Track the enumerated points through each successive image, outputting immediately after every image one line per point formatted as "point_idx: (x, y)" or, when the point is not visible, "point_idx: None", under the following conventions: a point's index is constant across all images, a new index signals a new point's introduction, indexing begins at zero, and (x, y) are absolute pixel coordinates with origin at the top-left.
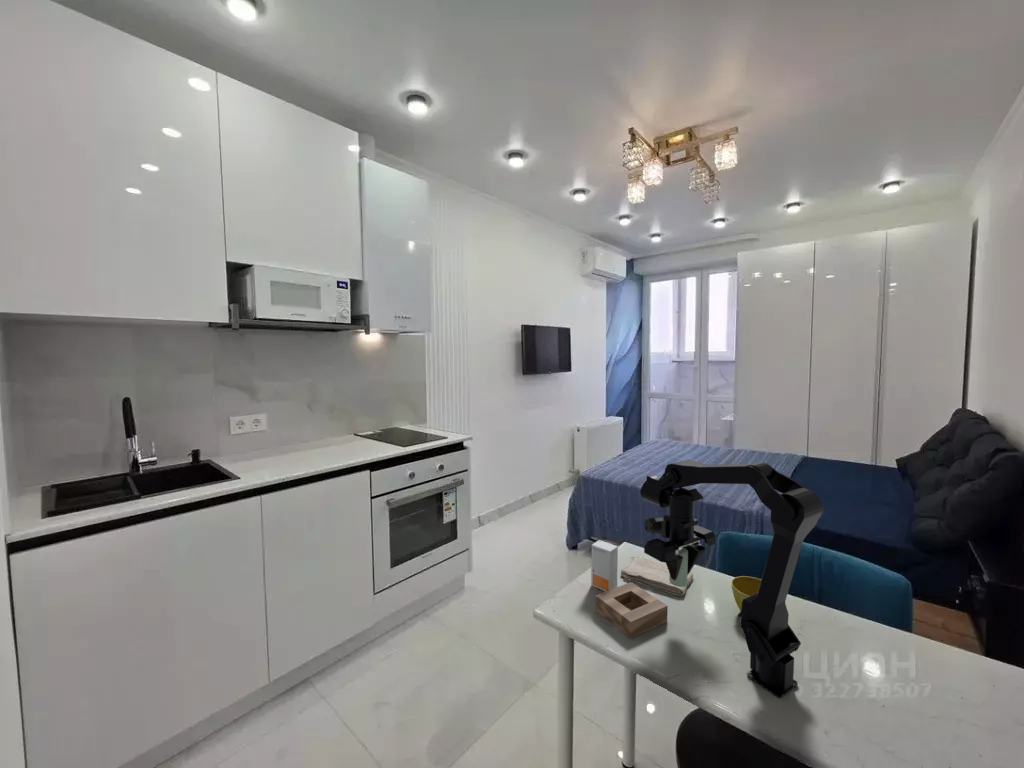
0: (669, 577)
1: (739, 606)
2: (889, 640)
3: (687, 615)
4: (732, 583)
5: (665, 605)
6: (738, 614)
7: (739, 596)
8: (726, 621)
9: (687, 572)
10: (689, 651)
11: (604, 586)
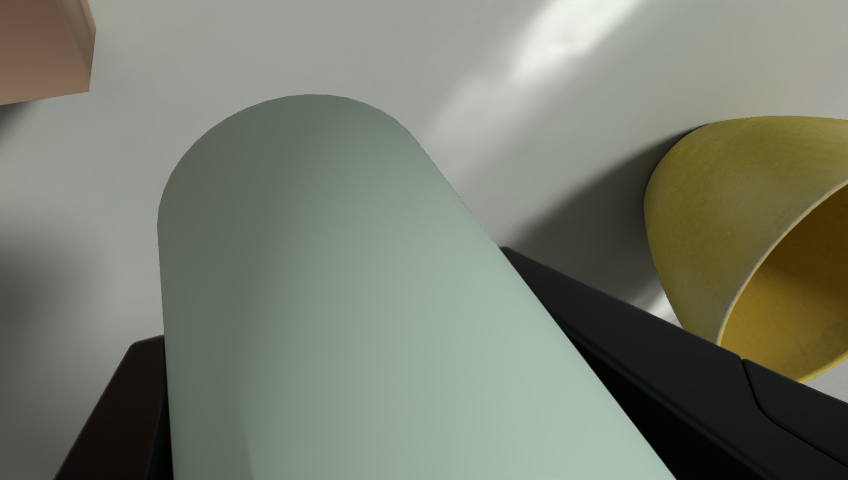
0: (182, 199)
1: (668, 209)
2: (831, 390)
3: (346, 30)
4: (819, 198)
5: (60, 80)
6: None
7: (702, 285)
8: (527, 181)
9: None
10: (58, 350)
11: None
